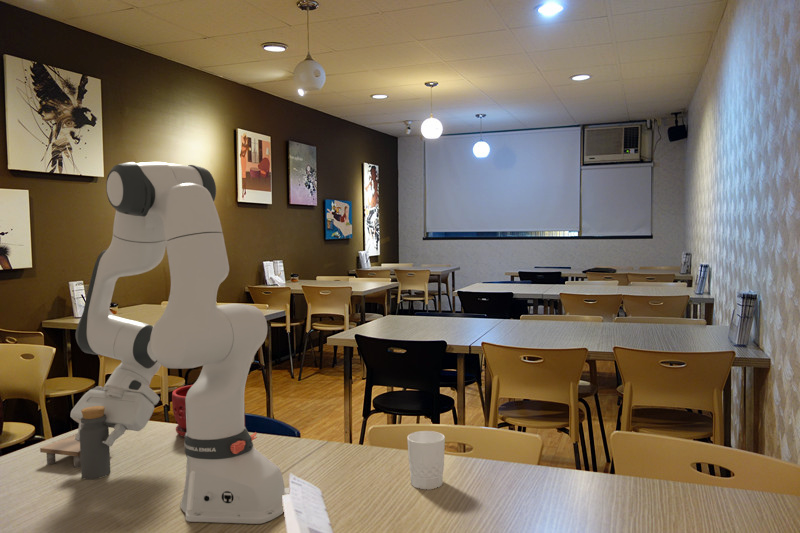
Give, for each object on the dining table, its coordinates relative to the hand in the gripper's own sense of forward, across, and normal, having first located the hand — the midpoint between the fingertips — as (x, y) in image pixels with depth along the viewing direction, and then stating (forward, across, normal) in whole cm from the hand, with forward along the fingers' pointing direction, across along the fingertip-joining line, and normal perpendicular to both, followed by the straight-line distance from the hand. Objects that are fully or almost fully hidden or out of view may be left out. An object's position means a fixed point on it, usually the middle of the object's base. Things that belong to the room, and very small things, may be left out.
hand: (92, 442), depth 137 cm
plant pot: (-17, +2, +28) cm, 33 cm away
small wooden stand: (+1, -13, +10) cm, 16 cm away
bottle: (+5, 0, +6) cm, 8 cm away
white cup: (-9, +72, +20) cm, 75 cm away
